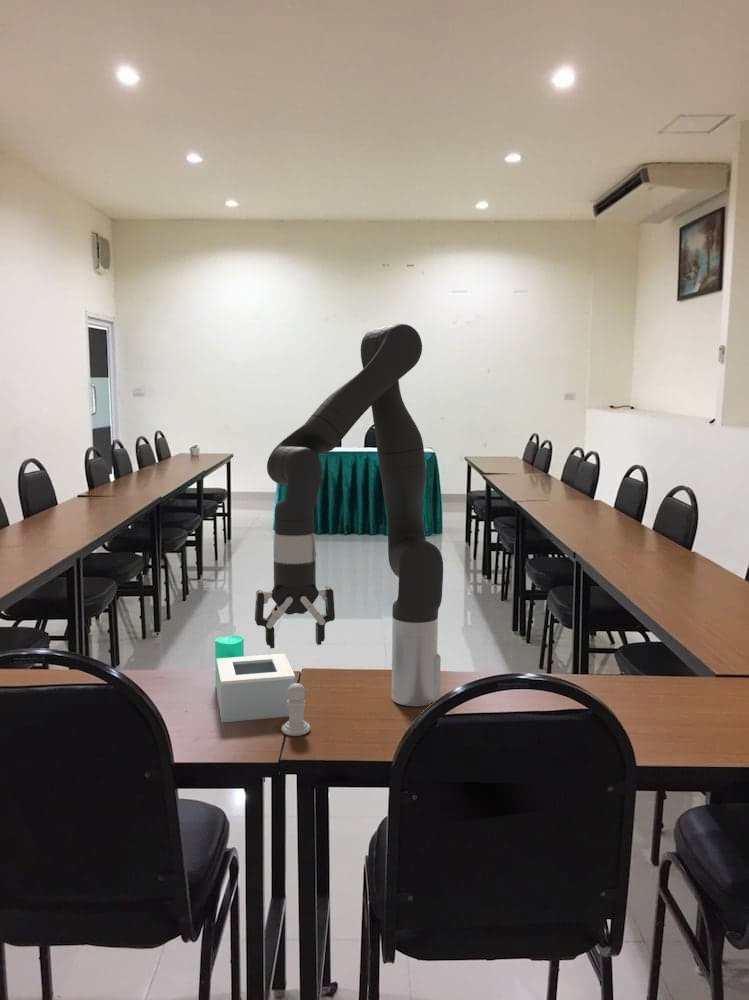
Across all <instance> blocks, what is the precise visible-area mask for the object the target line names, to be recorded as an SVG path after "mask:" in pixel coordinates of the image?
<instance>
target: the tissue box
mask: <svg viewBox="0 0 749 1000" xmlns="http://www.w3.org/2000/svg"><path fill="white" fill-rule="evenodd" d="M216 662H217V689H216V697H217V704H218V708H219V709H218V710H220V711H219V716H220V720H221V723H231V722H232V723H233V722H240V721H254V720H261V719H262V720H264V719H265V720H266V719H274V718H276V719H277V718H285V717H286V718H287V717H289V710H288V709H287V705H288V704H287V701H288V700H289V698H288V695H287V690H288V688H289V686H290V685H292V684H294V683H296V674H295V672H294V671H293V668H292V666H291V664H290V662H289V660H288V658H287V656H286V654H285V653H275V654H274V653H273V654H272V653H271V654H261V655H247V656H244V657H230V658H216Z"/></svg>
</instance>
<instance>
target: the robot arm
mask: <svg viewBox="0 0 749 1000" xmlns="http://www.w3.org/2000/svg"><path fill="white" fill-rule="evenodd" d="M422 352H423V342H422V339H421V335H420V334H419V332H418V331H417V329H415V328H414V327H413V326H411V325H409V324H405V323H393V324H390V325H384V326H378V327H375V328H372V329H370V330H368V331H366V333H365V334H364V336H363V338H362V340H361V343H360V359H361V364H362V369H361V370H360V371H359V372H358V373H357V374H356V375H355V376H353V377H352V378H351V379H350V380H348V381H347V382H346V383H344V384H343V385H341V386H340V387H338V388H337V389H336V390H335V391H333V392H332V393H331V394H330V395H329V396H328V397H327V398H326V399H324V401H322V403H321V404H320V405H319V406H318V407H317V408H316V409H315V411H314V412H313V413H312V414H311V415H310V417H309V418H308V419H307V420H306V422H305V423H304V424H302V425H301V426H300V427H299V428H297V429H296V430H294V431H293V432H291V433H290V434H289V435H288V436H286V438H284V439H283V440H282V441H281V442H279V443H278V444H277V445H276V446H275V447H274V448H273V449H272V451H271V453H270V455H269V457H268V459H267V464H266V471H267V474H268V476H269V478H270V479H271V480H272V481H273V482H274V483H276V484H279V485H282V486H287V487H286V491H285V492H286V493H285V498H284V499H282V500H280V501H278V502H277V503H276V505H275V508H274V539H273V587H272V590H271V591H263V590H261V589H258V590H257V591H256V592H255V605H254V606H255V609H254V611H255V612H254V621H255V624H256V626H257V627H258V626H260V627H264V628H265V631H264V632H265V643H266V645H267V646H269V648H270V649H275V627H274V626H275V624H276V623H277V621H278V620H280V618H281V617H282V616H283V614H286V615H288V616H289V615H294V614H299V615H300V614H301V615H305V613H307V612H309V614H310V615H311V616H312V617H313V618H314V619H315V621H316V622H315V644H316V645H317V646H320V645H322V642H325V639H326V638H325V637H326V633H325V631H326V630H325V629H326V624H327V623H328V622H333V621H335V618H336V614H335V596H334V595H335V594H334V590H333V589H332V588H331V587H330V586H327V585H326V586H325V587H323V588H317V585H316V584H317V583H316V579H317V577H316V576H317V575H316V574H317V573H316V570H317V569H316V568H317V567H316V562H317V561H316V560H317V559H316V558H317V552H316V551H317V550H316V538H315V507H316V504H317V500H318V498H319V497H318V496H319V492H320V488H321V483H322V477H323V467H322V463H321V459H320V457H319V455H321V454H324V453H329V452H331V451H333V450H334V449H335V448H336V447H337V446H338V445H339V443H340V442H341V441H342V440H343V439H344V438H345V436H347V434H348V432H349V431H350V430H351V429H352V428H353V426H354V425H356V423H357V421H359V419H360V418H361V417H362V416H363V414H365V412H367V411H368V410H369V408H371V412H372V420H373V426H374V433H375V441H376V451H377V461H378V467H379V469H378V470H379V475H380V479H381V486H382V493H383V500H384V505H385V510H386V511H385V512H386V519H387V552H388V564H389V566H390V569H391V571H392V572H393V574H394V575H395V576H396V577H397V578H398V593H397V599H396V600H395V601H394V602H393V603H392V611H391V612H392V616H391V617H392V618H391V619H392V622H391V625H392V626H391V628H392V629H391V630H392V631H391V634H392V635H391V645H392V646H391V690H390V691H391V700H392V701H393V702H394V703H396V704H399V705H402V706H407V707H425V706H429V705H432V704H433V703H432V702H434V701H435V700H436V699H437V698H439V697H440V698H441V655H439V653H438V637H439V635H438V631H439V630H438V628H439V627H438V626H439V625H438V624H439V621H438V620H439V609H440V607H441V604H442V599H443V587H444V586H443V585H444V583H443V582H444V560H443V556H442V555H443V554H442V553H441V551H440V549H439V548H438V547H437V546H436V545H435V544H433V543H432V542H429V541H428V540H427V538H426V534H425V530H424V523H423V519H422V502H423V495H424V490H425V486H426V485H425V483H426V477H427V467H426V455H425V448H424V442H423V441H424V440H423V438H422V435H421V432H420V430H419V428H418V426H417V424H416V422H415V421H414V419H413V417H412V415H411V414H410V412H409V410H408V409H407V407H406V405H405V403H404V400H403V397H402V393H401V387H400V383H399V382H400V381H399V380H400V379H402V378H403V377H404V376H406V374H407V373H409V372H410V371H411V370H412V369H413V368H414V367H416V365H417V363H419V361H420V359H421V356H422ZM319 596H320V598H321V599H322V600H323V601H324V602H325V605H324V606H325V608H324V609H325V613H323V614H321V613H320V611H318V610H317V608H316V607H315V606H314V603H315V602H316V600H317V598H318V597H319ZM269 599H272V600H273V601H274V603H275V605H274V606H273V608H272V610H271V612H270V613H269V614H268V615H267V617H264V612H265V611H264V610H265V609H264V608H265V605H266V604H268V602H269ZM431 703H432V704H431ZM434 703H435V702H434Z"/></svg>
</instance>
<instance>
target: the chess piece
mask: <svg viewBox="0 0 749 1000" xmlns="http://www.w3.org/2000/svg"><path fill="white" fill-rule="evenodd" d="M287 695H288V698H289V700H288V701H287V704H288V705H287V709H288V710H289V716H288V720H287V721H286V722H285V723H283V724H282V725H281V728H280V729H281V732H282V733H283V734H284V735H286V736H290V737H291V736H292V737H299V736H304V735H306V734H307V733H309V732H310V731H311V725H310V724H309V722H308V721H306V720H304V709H305V708H306V705H305V704H306V700H305V699H304V697H305V696H306V689H305V687H304V686H303V685H302V683H297V682H295V683H294V684H292V685H290V686H289V688H288V690H287Z"/></svg>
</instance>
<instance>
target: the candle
mask: <svg viewBox="0 0 749 1000" xmlns="http://www.w3.org/2000/svg"><path fill="white" fill-rule="evenodd" d="M230 633H231V632H230V631H228V635H227V636H218V637H217V638H216V639H214V651H215V653H214V656H215V659H214V660H215V668H214V669H215V689H216V688H217V662H216V658H230V657H244V653H245V652H244V650H245V647H244V645H245V643H244V640H245V639H244V637H243V636H242V635H239V634H231V635H230Z"/></svg>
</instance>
